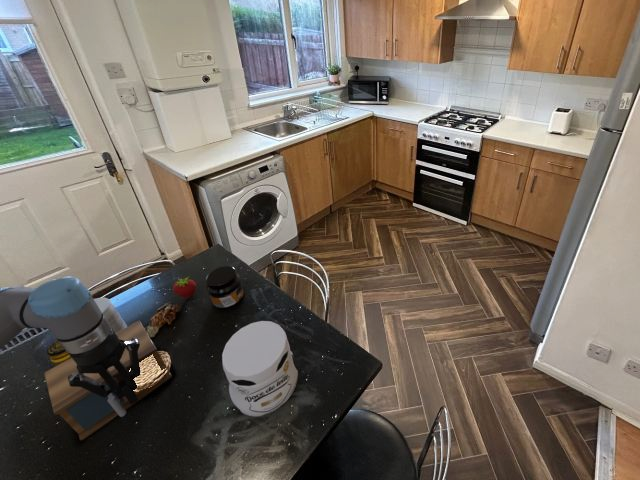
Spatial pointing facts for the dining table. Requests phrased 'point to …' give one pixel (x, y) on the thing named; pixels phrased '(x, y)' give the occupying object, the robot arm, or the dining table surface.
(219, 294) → the supplement container
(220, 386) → the dining table surface
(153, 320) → the pastry
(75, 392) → the cabinet
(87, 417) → the glass door
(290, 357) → the doce de leite tub
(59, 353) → the condiment
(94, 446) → the dining table surface
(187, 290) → the strawberry
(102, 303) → the supplement tub
